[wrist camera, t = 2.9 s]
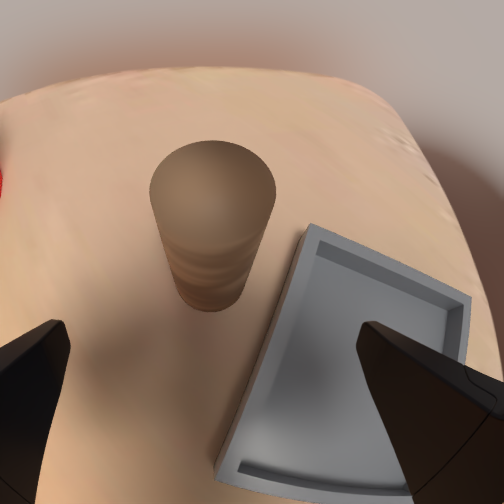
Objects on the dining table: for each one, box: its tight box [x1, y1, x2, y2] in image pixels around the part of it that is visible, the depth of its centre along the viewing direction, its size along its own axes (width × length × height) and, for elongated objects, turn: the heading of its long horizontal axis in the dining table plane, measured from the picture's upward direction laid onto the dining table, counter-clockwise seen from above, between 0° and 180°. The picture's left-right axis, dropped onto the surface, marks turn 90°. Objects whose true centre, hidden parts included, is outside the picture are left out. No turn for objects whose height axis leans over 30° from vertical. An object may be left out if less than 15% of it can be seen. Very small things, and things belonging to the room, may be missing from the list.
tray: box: [214, 223, 472, 504], centre depth 18 cm, size 18×16×3 cm
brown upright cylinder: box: [149, 141, 276, 312], centre depth 17 cm, size 5×5×11 cm
